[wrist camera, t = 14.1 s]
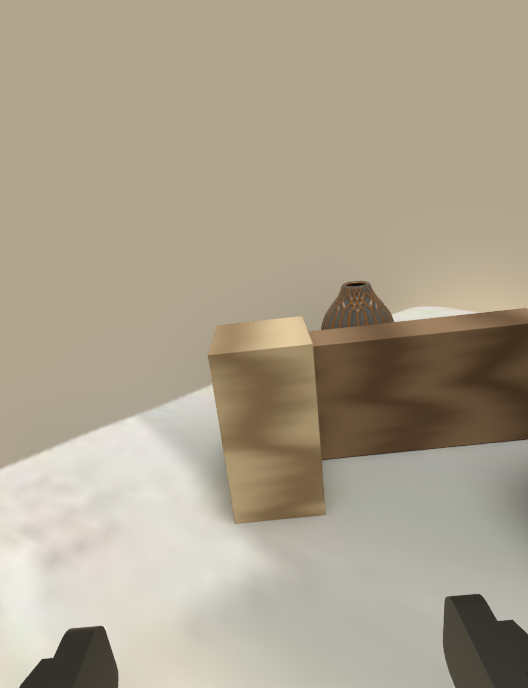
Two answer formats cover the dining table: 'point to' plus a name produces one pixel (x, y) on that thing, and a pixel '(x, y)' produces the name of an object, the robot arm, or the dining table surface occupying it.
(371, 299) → the vase
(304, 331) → the maple block
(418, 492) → the dining table surface
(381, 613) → the dining table surface
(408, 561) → the dining table surface
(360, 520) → the dining table surface
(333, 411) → the walnut board
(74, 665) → the robot arm
